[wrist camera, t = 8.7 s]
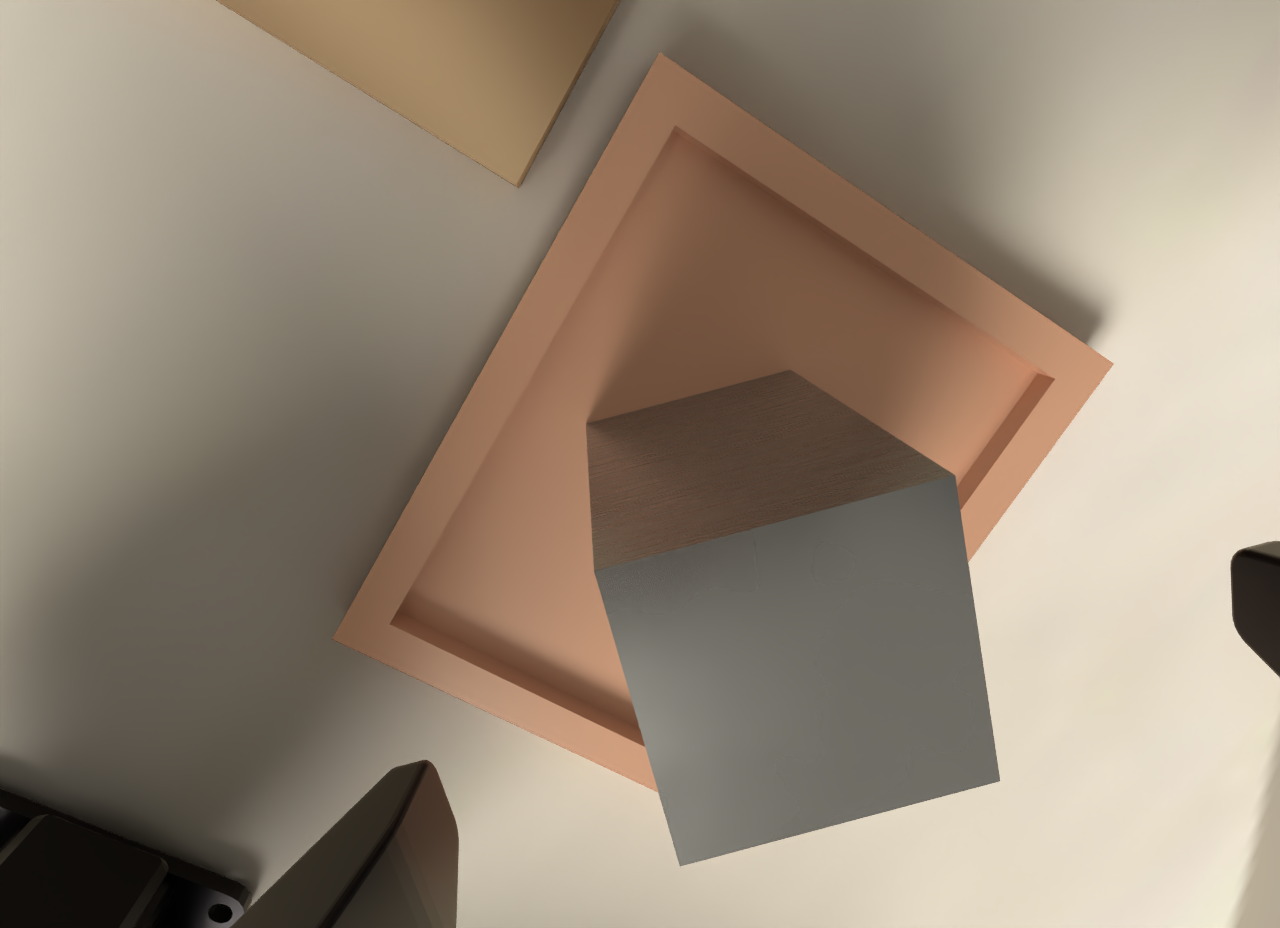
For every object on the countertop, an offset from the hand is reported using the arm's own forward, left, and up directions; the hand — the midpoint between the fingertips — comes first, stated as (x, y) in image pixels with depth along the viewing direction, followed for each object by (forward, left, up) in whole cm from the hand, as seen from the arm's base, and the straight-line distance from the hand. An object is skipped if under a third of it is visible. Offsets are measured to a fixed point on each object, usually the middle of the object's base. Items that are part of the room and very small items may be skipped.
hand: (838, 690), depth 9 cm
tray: (0, 0, -8) cm, 8 cm away
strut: (0, 0, -7) cm, 7 cm away
